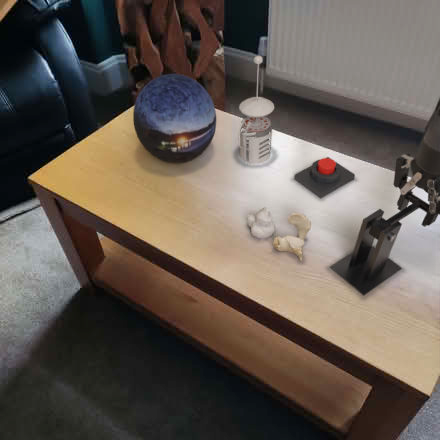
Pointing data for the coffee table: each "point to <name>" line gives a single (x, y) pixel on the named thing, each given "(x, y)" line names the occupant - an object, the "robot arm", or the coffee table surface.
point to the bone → (293, 242)
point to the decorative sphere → (174, 118)
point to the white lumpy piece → (261, 223)
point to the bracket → (369, 257)
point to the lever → (398, 215)
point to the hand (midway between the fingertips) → (413, 215)
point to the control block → (323, 179)
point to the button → (326, 166)
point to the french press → (256, 127)
